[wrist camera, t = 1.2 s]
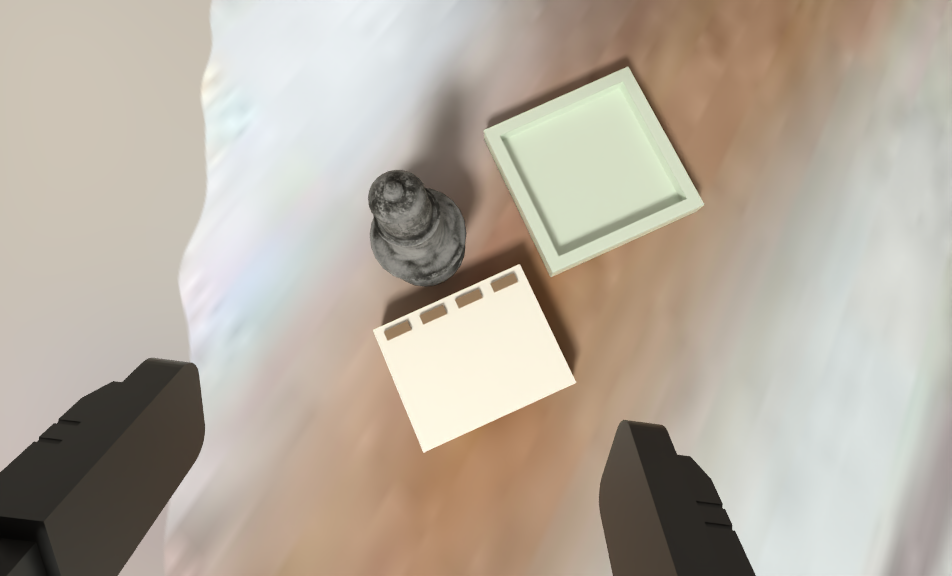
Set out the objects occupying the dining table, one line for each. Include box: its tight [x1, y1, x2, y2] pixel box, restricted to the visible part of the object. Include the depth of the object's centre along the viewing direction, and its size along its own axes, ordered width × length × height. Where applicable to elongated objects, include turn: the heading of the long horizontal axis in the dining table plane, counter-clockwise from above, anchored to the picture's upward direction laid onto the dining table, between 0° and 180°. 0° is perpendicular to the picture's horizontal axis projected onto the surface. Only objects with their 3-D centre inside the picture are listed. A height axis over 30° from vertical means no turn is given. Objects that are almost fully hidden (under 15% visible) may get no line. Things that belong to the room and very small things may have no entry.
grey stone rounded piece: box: [368, 170, 466, 287], centre depth 31 cm, size 6×6×12 cm
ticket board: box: [373, 264, 576, 452], centre depth 34 cm, size 10×8×2 cm
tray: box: [484, 67, 704, 277], centre depth 36 cm, size 11×11×2 cm
